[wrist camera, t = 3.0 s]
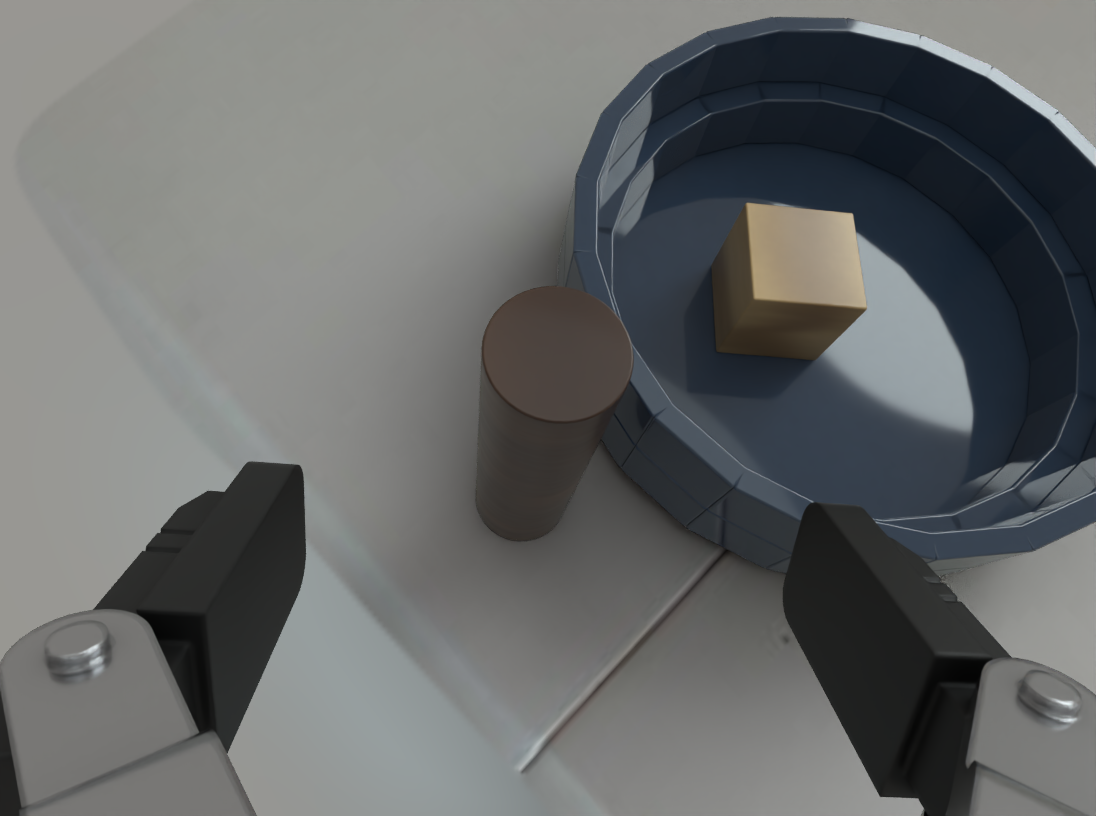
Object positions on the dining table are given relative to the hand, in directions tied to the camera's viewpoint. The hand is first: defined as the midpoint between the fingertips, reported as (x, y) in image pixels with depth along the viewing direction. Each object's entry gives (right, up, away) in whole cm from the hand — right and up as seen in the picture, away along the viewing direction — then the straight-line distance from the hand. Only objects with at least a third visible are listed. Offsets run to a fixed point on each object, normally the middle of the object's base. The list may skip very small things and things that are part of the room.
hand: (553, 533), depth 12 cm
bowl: (+9, +5, +14) cm, 18 cm away
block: (+7, +5, +14) cm, 16 cm away
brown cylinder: (-1, -1, +11) cm, 11 cm away
